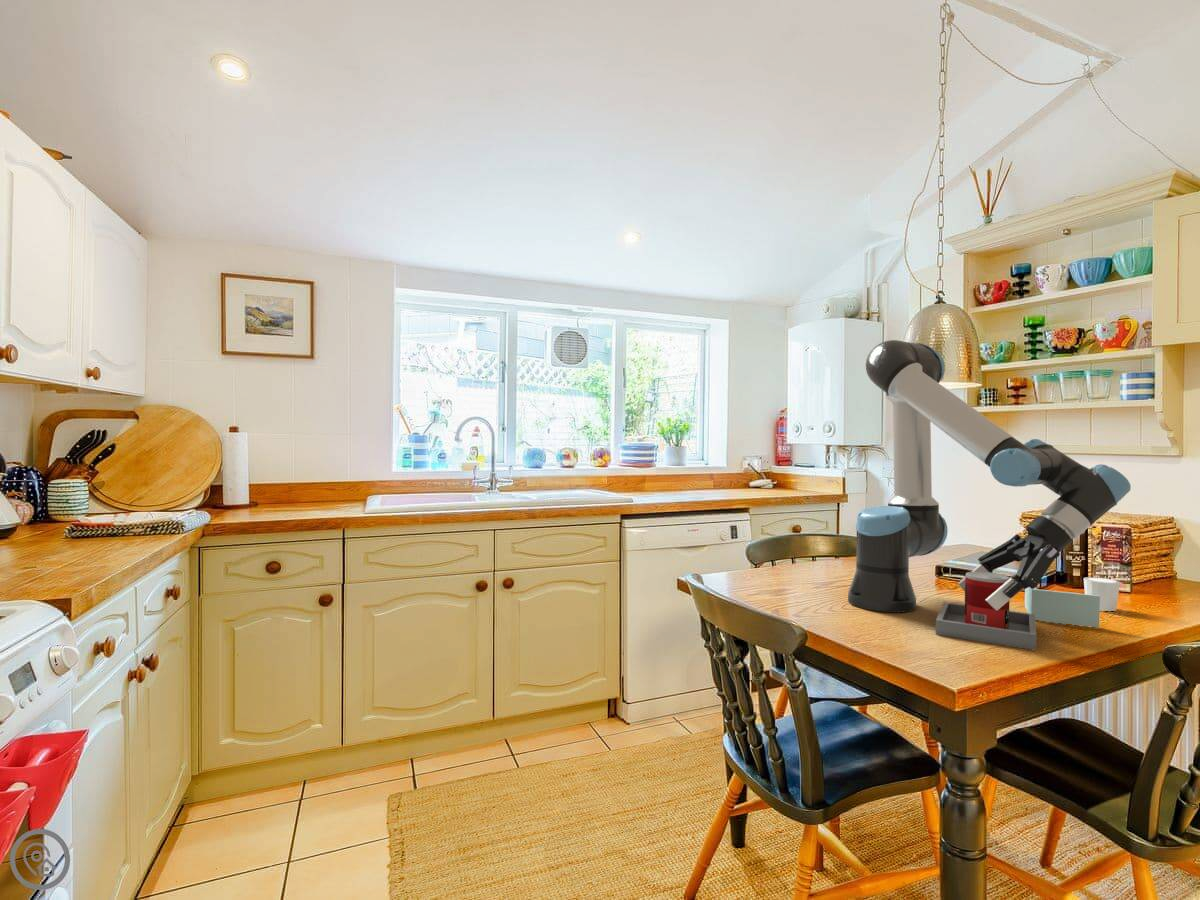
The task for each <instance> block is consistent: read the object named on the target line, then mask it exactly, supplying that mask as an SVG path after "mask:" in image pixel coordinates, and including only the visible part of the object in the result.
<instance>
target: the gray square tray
mask: <svg viewBox="0 0 1200 900" xmlns="http://www.w3.org/2000/svg"><path fill="white" fill-rule="evenodd" d="M964 616H965V604H961V603H953V602H946V601H944V602H943V603H942V606H941V607H940V610H939V612H938V614H937V616H936V619H935V635H937V636H942V637H950V638H956V639H963V640H967V641H974V642H981V643H986V644H987V643H988V644H993V645H999V646H1005V647H1011V648H1016V647H1018V648H1017V649H1023V648H1027V649H1026V650H1029V649H1034V650H1033V651H1035V650H1036V651H1037V628H1036V627H1037V626H1036V625H1037V624H1036V621H1035V614H1029V613H1027V612H1021V611H1014V610H1009V627H1008V629H1001V628H994V627H988V626H981V625H974V624H968V623H965V621H964Z"/></svg>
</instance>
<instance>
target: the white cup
mask: <svg viewBox="0 0 1200 900" xmlns="http://www.w3.org/2000/svg"><path fill="white" fill-rule="evenodd" d="M1120 585H1121V582H1120V581H1118V580H1116V579H1110V578H1106V577H1105V578H1104V577H1098V576H1097V577H1094V576H1087V577H1083V587H1084V594H1091V595H1099V596H1100V611H1116V612H1117V606H1118V600H1119V599H1118V598H1119V591H1120V588H1121V587H1120Z"/></svg>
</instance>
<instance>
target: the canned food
mask: <svg viewBox="0 0 1200 900" xmlns="http://www.w3.org/2000/svg"><path fill="white" fill-rule="evenodd" d="M964 578H965V591H964V605H965V616H964V621H965V623H968V624H974V625H981V626H988V627H994V628H1001V629H1008V627H1009V611H1010V602H1011V599H1010V600H1009V601H1008V602H1007V603H1006V604H1004V605H1003V606H1002V607H1001V608H1000V609H999V610H995V609H994V608H993V607H992V606H991V605H990V604H989V603H988V602H987V601H986V600H985V599H987V598H988V597H989V596H990V595H991V594H992V593H994V592H995V591H996V590H997V589H998V588H999V587H1001V586H1002V585H1003V584H1004V583H1005V582H1006V581H1008V580H1009V579H1010V578H1011V577H1009V576H1007V575H1004V574H1002V573H1001V574H1000V573H996V572H992V573H990V572H972V571H968V572H965V576H964Z"/></svg>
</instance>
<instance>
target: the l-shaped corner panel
mask: <svg viewBox="0 0 1200 900" xmlns="http://www.w3.org/2000/svg"><path fill="white" fill-rule="evenodd" d="M1024 608H1026V609H1025V610H1027V611H1026V613H1027V612H1028V613H1029V614H1035V620H1039V621H1038V622H1041V621H1046V622H1045V623H1049V622H1054V623H1053V624H1058V623H1062V624H1061V625H1066V624H1072V625H1071V626H1074V625H1081V626H1080V627H1083V626H1091V627H1099V628H1100V596H1099V595H1091V594H1085V593H1079V592H1069V591H1061V590H1060V591H1059V590H1051V589H1049V590H1047V589H1040V588H1039V589H1038V588H1037V586H1036V587H1035V588H1034V589H1031V588H1030V587H1028V588H1026V589H1024ZM1091 627H1090V628H1091Z"/></svg>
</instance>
